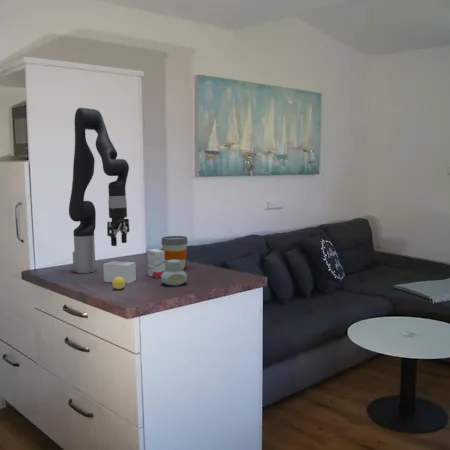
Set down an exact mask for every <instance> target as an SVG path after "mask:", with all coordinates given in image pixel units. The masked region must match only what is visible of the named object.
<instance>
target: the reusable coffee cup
mask: <svg viewBox="0 0 450 450" xmlns="http://www.w3.org/2000/svg"><path fill="white" fill-rule="evenodd" d="M160 244H161V247H162V249H161V250H162V251H164V255H165V271H167V261H168V260H180V261H181V270H182V271H183V270H184V269H185V268H186V267H185V266H186V259H187V253H188V248H187V246H188V237H187V236H184V235H167V236H162V237H161V243H160Z"/></svg>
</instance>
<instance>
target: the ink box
mask: <svg viewBox="0 0 450 450" xmlns="http://www.w3.org/2000/svg"><path fill="white" fill-rule="evenodd" d="M146 253H147V274H148V276H149V277H153V278H156V279H161V275H162V274H163V273H164V272H165V271H166V267H165V255H164V251H162V249H158V248H152V249H147V250H146Z"/></svg>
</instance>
